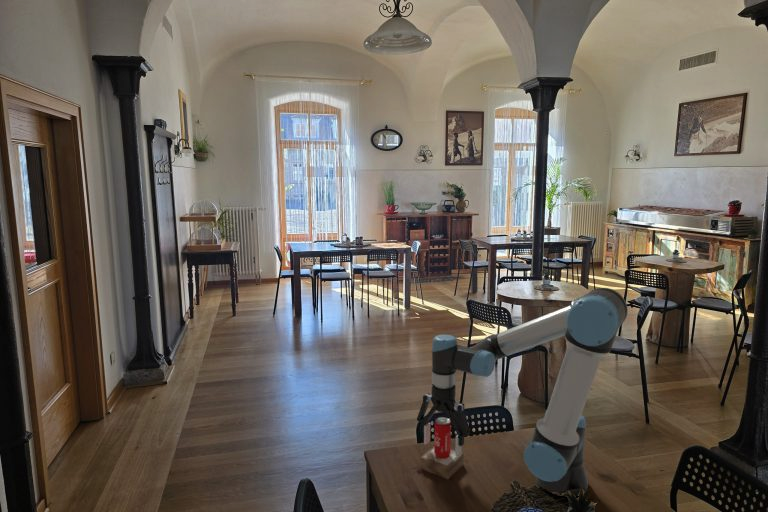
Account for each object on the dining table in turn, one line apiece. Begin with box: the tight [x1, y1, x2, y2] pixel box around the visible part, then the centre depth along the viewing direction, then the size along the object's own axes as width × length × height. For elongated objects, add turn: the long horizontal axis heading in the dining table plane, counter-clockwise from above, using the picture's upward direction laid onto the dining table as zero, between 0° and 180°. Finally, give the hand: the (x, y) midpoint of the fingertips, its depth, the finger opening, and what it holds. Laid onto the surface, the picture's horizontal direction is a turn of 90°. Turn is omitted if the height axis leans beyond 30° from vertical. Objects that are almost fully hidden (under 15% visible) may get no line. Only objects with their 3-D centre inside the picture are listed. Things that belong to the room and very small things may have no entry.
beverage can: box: [433, 416, 452, 459], centre depth 164 cm, size 5×5×12 cm
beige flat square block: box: [420, 446, 464, 480], centre depth 166 cm, size 10×10×4 cm
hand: (442, 448), depth 165 cm, fingers open, 11 cm apart
